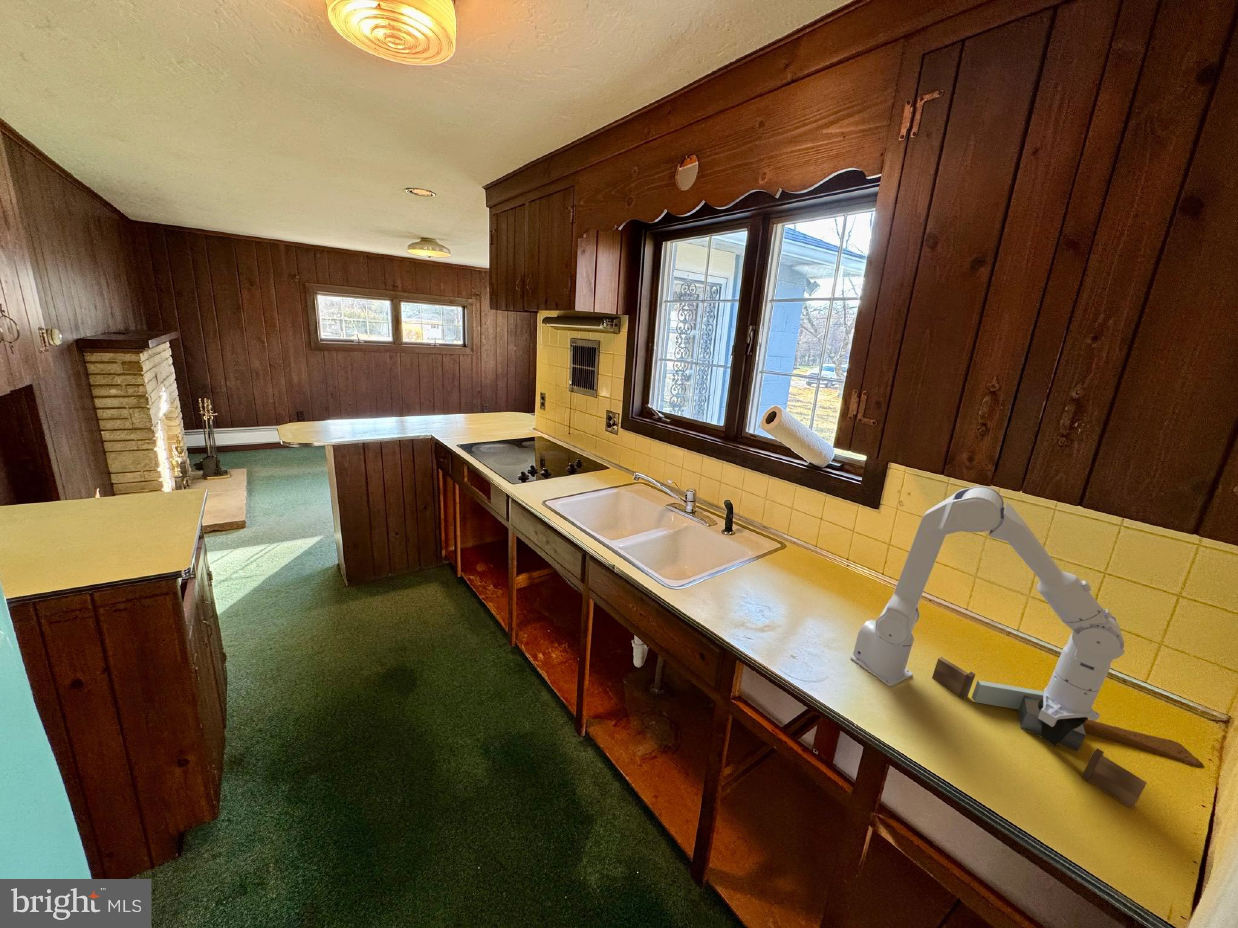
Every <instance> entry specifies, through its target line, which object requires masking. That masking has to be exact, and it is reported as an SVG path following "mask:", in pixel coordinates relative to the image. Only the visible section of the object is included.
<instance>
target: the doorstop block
mask: <svg viewBox="0 0 1238 928" xmlns="http://www.w3.org/2000/svg"><path fill="white" fill-rule="evenodd" d="M1038 702H1039V701H1038V700H1035V699H1033V698H1030V697H1027V696H1025V695H1024V697H1023V699H1022V702H1021V704H1020V707H1019V709H1017V715H1018V716H1017V717H1018V721H1019V728H1020V729H1021V730H1023V731H1026V732H1029V733H1031V734H1033V735H1036V736H1038V737H1040V738H1042V737H1041V726H1042V720H1040V719H1039V718H1038V716H1039V714H1040V710H1039V708H1038ZM1086 733H1087V732H1085V730H1084V727H1083V724H1082V725H1081V726H1079V727H1078V728H1076V729H1073V730H1071V731H1070V732H1069V733H1068V734H1067V736H1066V737H1065V738H1064V739H1063V740H1062V741H1061V742H1060V743H1059V744H1058V745H1060V746H1061V747H1065V748H1067V749H1070V750H1072V751H1074V752H1079V751H1080V749H1081V746H1082V744H1083V742H1084V740H1085V738H1086V735H1087V734H1086Z"/></svg>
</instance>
